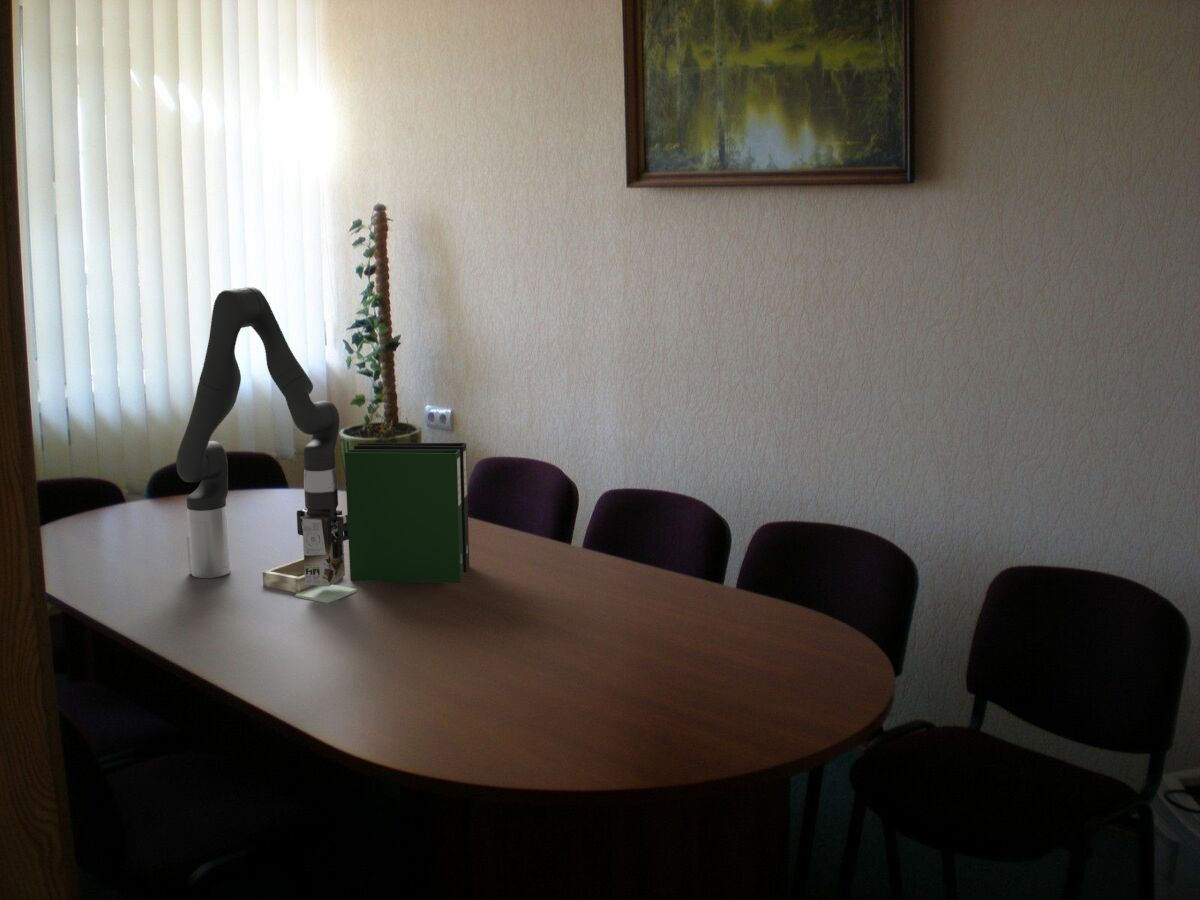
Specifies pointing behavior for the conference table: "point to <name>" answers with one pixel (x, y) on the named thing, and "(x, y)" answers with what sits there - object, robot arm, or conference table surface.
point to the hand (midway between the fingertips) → (324, 555)
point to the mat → (326, 593)
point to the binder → (407, 512)
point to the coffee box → (321, 551)
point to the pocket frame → (287, 577)
